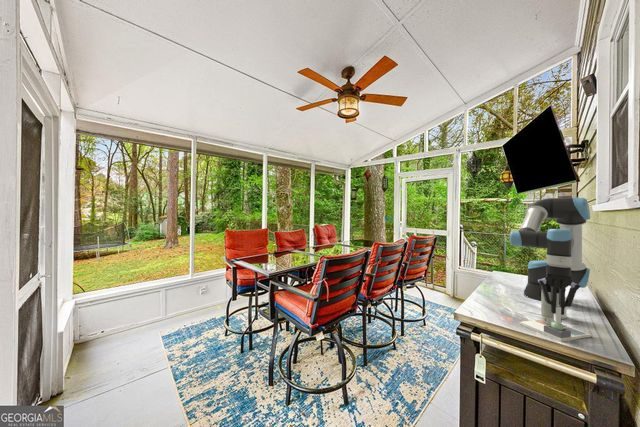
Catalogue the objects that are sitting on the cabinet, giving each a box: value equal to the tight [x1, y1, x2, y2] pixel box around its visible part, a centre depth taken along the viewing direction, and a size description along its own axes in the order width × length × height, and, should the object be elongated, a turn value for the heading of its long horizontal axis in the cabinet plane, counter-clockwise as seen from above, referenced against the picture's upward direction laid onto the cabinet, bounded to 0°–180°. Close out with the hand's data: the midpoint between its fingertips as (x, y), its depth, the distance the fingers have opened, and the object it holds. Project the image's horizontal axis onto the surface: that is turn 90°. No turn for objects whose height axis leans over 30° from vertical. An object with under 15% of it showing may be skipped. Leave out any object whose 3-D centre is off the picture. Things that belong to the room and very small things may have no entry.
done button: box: [551, 322, 564, 331], centre depth 102 cm, size 4×4×3 cm
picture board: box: [518, 318, 592, 342], centre depth 108 cm, size 18×16×4 cm
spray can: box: [540, 281, 559, 325], centre depth 112 cm, size 7×7×20 cm
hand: (557, 321), depth 102 cm, fingers closed
